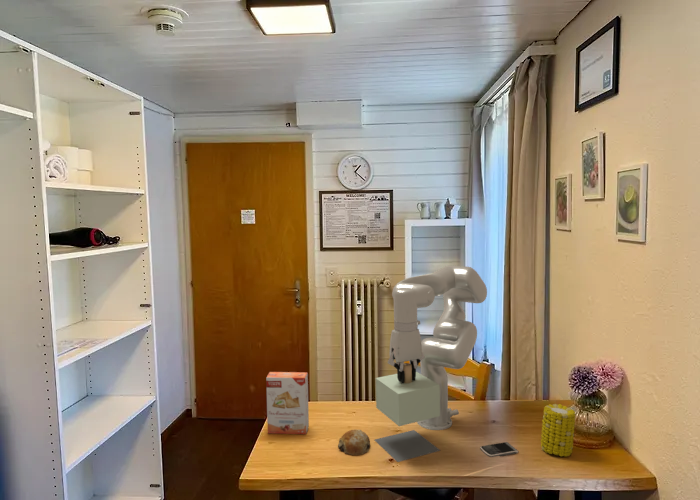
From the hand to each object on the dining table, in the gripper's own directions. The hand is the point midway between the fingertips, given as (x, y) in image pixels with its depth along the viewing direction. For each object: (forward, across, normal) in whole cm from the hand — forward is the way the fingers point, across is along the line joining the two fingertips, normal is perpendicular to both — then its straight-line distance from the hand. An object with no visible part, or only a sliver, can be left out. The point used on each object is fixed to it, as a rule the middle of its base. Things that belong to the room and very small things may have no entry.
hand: (406, 380), depth 156 cm
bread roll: (+23, +17, -6) cm, 29 cm away
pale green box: (+11, 0, 0) cm, 11 cm away
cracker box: (+22, +33, -28) cm, 48 cm away
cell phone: (+23, -24, +16) cm, 37 cm away
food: (+23, -41, +24) cm, 53 cm away
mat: (+22, +1, 0) cm, 22 cm away
